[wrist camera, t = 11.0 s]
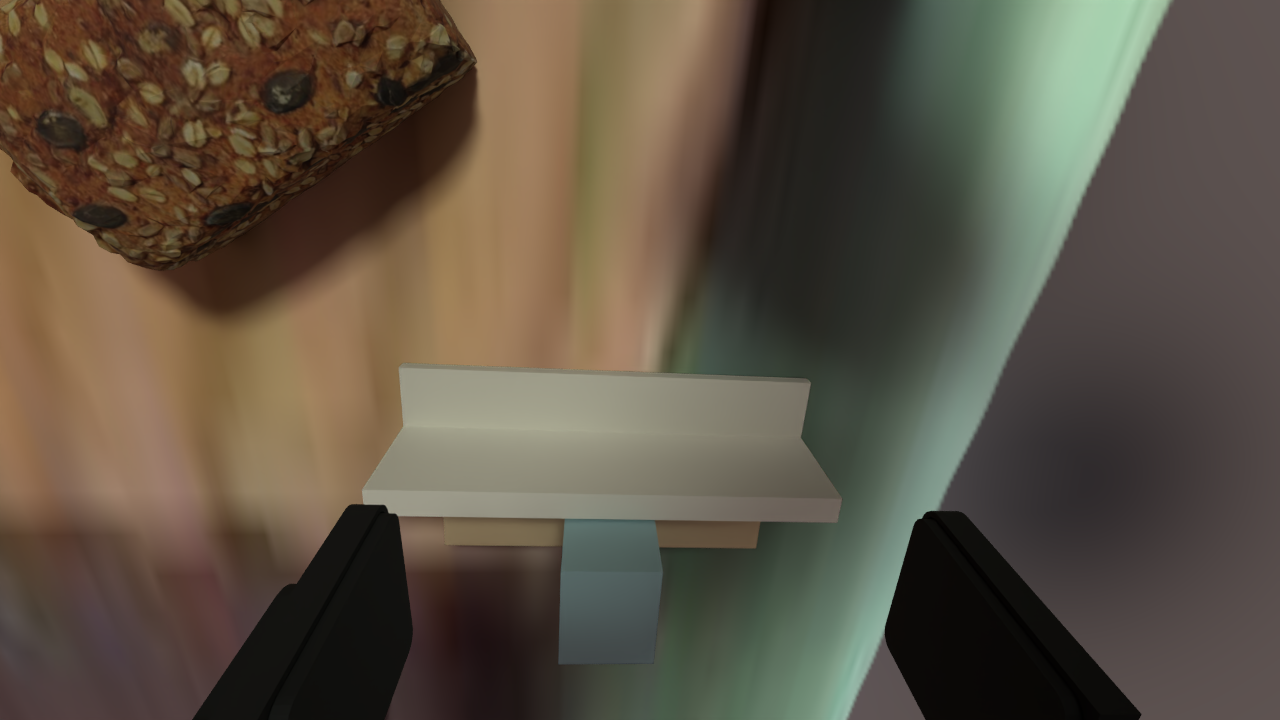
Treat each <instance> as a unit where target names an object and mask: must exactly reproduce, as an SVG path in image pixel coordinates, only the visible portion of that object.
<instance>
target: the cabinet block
mask: <svg viewBox="0 0 1280 720" xmlns="http://www.w3.org/2000/svg"><path fill="white" fill-rule="evenodd" d="M662 576H663V569H662V563H661V556H660V550H659V543H658V537H657V531H656V524H655V520H626V519H565V523H564V536H563V550H562V563H561V584H560V622H559V660H558V664H654V655H655V645H656V636H657V626H658V616H659V606H660V596H661V586H662Z"/></svg>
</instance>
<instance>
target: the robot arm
mask: <svg viewBox="0 0 1280 720" xmlns="http://www.w3.org/2000/svg"><path fill="white" fill-rule="evenodd" d="M412 635H413V626H412V618H411V611H410V603H409V595H408V587H407V580H406V572H405V564H404V556H403V549H402V541H401V533H400V525H399V519H398V516H397V514H395V513H388V509H387V507H386V506H385V505H363V504H352V505H349V506H348V507H347V508H346V509H345V511H344V512H343V514H342V515H341V517H340V518H339V520H338V522H337V523H336V525H335V526H334V528H333V529H332V531H331V532H330V534H329V535H328V537H327V538H326V540H325V541H324V543H323V544H322V546H321V548H320V549H319V551H318V552H317V554H316V555H315V557H314V558H313V560H312V561H311V563H310V564H309V566H308V567H307V569H306V570H305V572H304V573H303V575H302V577H301V578H300V580H299V581H298V583H297V584H289V585H287V586H285V587H284V588H283V589H282V590H281V591H280V592H279V593H278V595H277V596H276V597H275V599H274V600H273V602H272V603H271V605H270V606H269V608H268V609H267V611H266V612H265V613H264V615H263V616H262V618H261V619H260V621H259V622H258V624H257V625H256V627H255V628H254V630H253V631H252V633H251V634H250V636H249V637H248V638H247V640H246V641H245V643H244V644H243V646H242V647H241V649H240V650H239V652H238V653H237V655H236V656H235V658H234V659H233V661H232V662H231V663H230V665H229V666H228V668H227V669H226V671H225V672H224V674H223V675H222V677H221V678H220V680H219V681H218V683H217V684H216V686H215V687H214V688H213V690H212V691H211V693H210V694H209V696H208V697H207V699H206V700H205V702H204V703H203V705H202V706H201V708H200V709H199V711H198V712H197V713H196V715H195V716H194V718H193V719H192V720H384V719H385V716H386V713H387V711H388V708H389V705H390V702H391V700H392V697H393V694H394V691H395V689H396V686H397V683H398V681H399V678H400V675H401V672H402V670H403V667H404V664H405V661H406V659H407V656H408V653H409V650H410V647H411V642H412ZM885 638H886V643H887V646H888V648H889V650H890V652H891V654H892V656H893V658H894V660H895V662H896V664H897V666H898V668H899V669H900V671H901V673H902V675H903V677H904V679H905V681H906V683H907V685H908V687H909V689H910V691H911V692H912V694H913V696H914V698H915V700H916V702H917V704H918V706H919V708H920V710H921V712H922V714H923V715H924V717H925V719H926V720H1139V718H1140V716H1141V713H1140V712H1139V711H1138V710H1137V709H1136V707H1134V705H1133V704H1132V703H1131V702H1130V701H1129V700H1128V699H1127V697H1126V696H1125V695H1124V694H1123V693H1122V692H1121V690H1120V689H1119V688H1118V687H1117V686H1116V685H1115V684H1114V682H1113V681H1112V680H1111V679H1110V678H1109V677H1108V676H1107V675H1106V674H1105V672H1104V671H1103V670H1102V669H1101V668H1100V667H1099V666H1098V664H1097V663H1096V662H1095V661H1094V660H1093V659H1092V658H1091V657H1090V656H1089V654H1088V653H1087V652H1086V651H1085V650H1084V648H1083V647H1082V646H1081V645H1080V644H1079V643H1078V642H1077V641H1076V639H1075V638H1074V637H1073V636H1072V635H1071V634H1070V633H1069V632H1068V630H1067V629H1066V628H1065V627H1064V626H1063V625H1062V624H1061V622H1060V621H1059V620H1058V619H1057V618H1056V617H1055V616H1054V615H1053V613H1052V612H1051V611H1050V610H1049V609H1048V608H1047V607H1046V606H1045V604H1044V603H1043V602H1042V601H1041V600H1040V599H1039V598H1038V596H1037V595H1036V594H1035V593H1034V592H1033V591H1032V590H1031V588H1030V587H1029V586H1028V585H1027V584H1026V583H1025V582H1024V581H1023V579H1022V578H1021V577H1020V576H1019V575H1018V574H1017V573H1016V572H1015V571H1014V569H1013V568H1012V567H1011V566H1010V565H1009V564H1008V563H1007V561H1006V560H1005V559H1004V558H1003V557H1002V556H1001V555H1000V553H999V552H998V551H997V550H996V549H995V548H994V547H993V545H992V544H991V543H990V542H989V541H988V540H987V539H986V538H985V536H984V535H983V534H982V533H981V532H980V531H979V530H978V528H977V527H976V526H975V525H974V524H973V523H972V522H971V521H970V519H969V518H968V517H967V516H966V515H965V514H963V513H962V512H959V511H929V512H926V513H925V514H924V516H923V518H922V519H918V520H917V521H916V522H915V524H914V526H913V530H912V533H911V537H910V540H909V544H908V548H907V551H906V555H905V558H904V562H903V565H902V569H901V572H900V576H899V579H898V583H897V586H896V590H895V593H894V597H893V600H892V604H891V607H890V611H889V614H888V618H887V622H886V625H885Z"/></svg>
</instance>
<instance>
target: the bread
mask: <svg viewBox="0 0 1280 720" xmlns="http://www.w3.org/2000/svg"><path fill="white" fill-rule="evenodd" d="M476 63H477V60H476V58H475V56H474V54H473V52H472V50H471V48H470V46H469V45H468V43H467V42H466V41H465V39H464V38H463V36H462V35H461V33H460V32H459V31H458V29H457V27H456V25H455V23H454V21H453V19H452V18H451V16H450V15H449V13H448V12H447V10H446V9H445V8H444V6H443V5H442V3H441V1H440V0H12V1H10V2H9V3H8V4H6V5H5V6H3V7H2V8H1V9H0V149H1V150H3V151H4V152H5V153H6V154H8V155H9V156H10V157H11V158H12V160H13V164H12V168H11V172H12V174H13V175H14V176H15V177H16V178H17V179H18V180H19V181H20V182H21V183H22V184H23V186H24V187H25V188H26V189H27V190H28V191H29V192H31V193H34V194H36V195H38V196H39V197H40V198H41V199H42V200H43V201H44V202H45V203H46V204H47V205H49V206H50V207H52V208H54V209H55V210H57V211H59V212H60V213H62V214H64V215H65V216H68V217H69V218H71V219H73V220H74V222H75V223H76V225H77V226H78V227H80V228H82V229H84V230H85V231H87V232H89V233H91V234H92V235H93V236H94V237H95V239H96V241H97V243H98V245H99V247H101V248H103V249H105V250H107V251H109V252H110V253H116V254H121V255H122V256H123V258H124V259H125V260H126V261H127V262H129V263H132V264H135V265H138V266H142V267H145V268H149V269H154V270H173V269H175V268H177V267H181V266H183V265H184V264H186V263H187V262H188V261H198V260H200V259H202V258H203V257H205V256H207V255H209V254H210V253H212V252H214V251H216V250H217V249H219V248H222V247H225V246H226V245H227V244H229V243H230V242H231V241H233V240H234V239H236V238H237V237H239V236H241V235H242V234H244V233H246V232H247V231H249V230H250V229H252V228H253V227H254V226H256V225H257V224H259V223H260V222H262V221H263V220H264V219H266V218H267V217H269V216H270V215H271V214H273V213H274V212H275V211H277V210H278V209H279V208H281V207H282V206H283V205H285V204H286V203H287V202H288V201H289V200H291V199H293V198H295V197H297V196H298V195H300V194H301V193H302V192H304V191H305V190H307V189H309V188H310V187H312V186H314V185H315V184H316V183H318V182H319V181H320V180H321V179H323V178H325V177H326V176H328V175H329V174H330V173H331V172H333V171H334V170H336V169H337V168H338V167H340V166H341V165H343V164H344V163H345V162H346V161H347V160H349V159H350V158H352V157H353V156H355V155H356V154H357V153H359V152H360V151H362V150H363V149H364V148H366V147H368V146H369V145H371V144H373V143H374V142H376V141H378V140H379V139H380V137H381V136H383V135H384V134H386V133H387V132H389V131H391V130H392V129H394V128H395V127H396V126H398V125H399V124H400V123H401V122H403V121H404V120H405V119H406V118H408V117H409V116H411V115H412V114H414V113H415V112H416V111H418V110H419V109H420V108H422V107H423V106H424V105H426V104H427V103H429V102H431V101H432V100H434V99H435V98H437V97H438V96H439V95H440V94H441V93H442V92H443V91H444V90H445V89H446V88H447V87H448V86H450V85H452V84H454V83H456V82H457V81H458V80H460V79H461V78H463V76H464V75H465V73H466V72H468V71H469V70H471V69H472V67H473V66H474V65H475V64H476Z"/></svg>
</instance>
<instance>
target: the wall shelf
mask: <svg viewBox="0 0 1280 720" xmlns="http://www.w3.org/2000/svg"><path fill="white" fill-rule="evenodd" d="M399 376H400V388H401V401H402V414H403V428H402V429H401V431H400V432H399V434H398V435H397V437H396V438H395V440H394V442H393V443H392V445H391V446H390V448H389V449H388V451H387V452H386V454H385V455H384V457H383V458H382V460H381V461H380V463H379V465H378V466H377V468H376V469H375V471H374V472H373V474H372V475H371V477H370V478H369V480H368V481H367V483H366V484H365V486H364V488H363V489H362V494H363V503H364V505H385V506H386V507H387V509H388V513H395V514H397V516H427V517H443V520H444V538H445V545H487V546H563V536H564V523H565V519H626V520H655V524H656V531H657V537H658V543H659V547H672V548H756V545H757V539H758V533H759V527H760V522H825V523H837V521H838V517H839V512H840V508H841V503H842V497H841V496H840V494H839V493H838V492H837V490H836V489H835V487H834V486H833V484H832V483H831V481H830V480H829V478H828V477H827V475H826V474H825V472H824V471H823V469H822V468H821V466H820V465H819V464H818V462H817V461H816V459H815V458H814V456H813V455H812V453H811V452H810V450H809V449H808V447H807V446H806V444H805V443H804V441H803V440H802V439H801V434H802V429H803V423H804V418H805V413H806V407H807V402H808V397H809V391H810V386H811V382H810V381H809V380H808V379H807V378H785V377H759V376H733V375H706V374H680V373H654V372H627V371H601V370H575V369H548V368H522V367H496V366H470V365H443V364H417V363H402V365H401V366H400V367H399Z"/></svg>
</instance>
